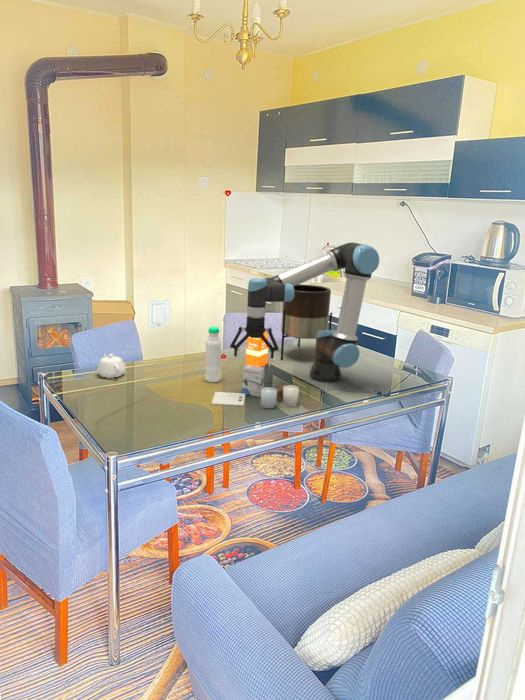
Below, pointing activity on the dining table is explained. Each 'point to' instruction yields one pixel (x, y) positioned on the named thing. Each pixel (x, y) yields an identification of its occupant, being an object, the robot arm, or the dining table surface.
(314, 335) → the planter
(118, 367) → the teapot
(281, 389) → the walnut block
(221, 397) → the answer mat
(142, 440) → the dining table surface
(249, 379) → the ink box
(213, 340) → the water bottle
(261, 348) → the orange juice
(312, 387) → the dining table surface
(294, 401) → the cream rounded-top cylinder
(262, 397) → the domed pale cylinder
